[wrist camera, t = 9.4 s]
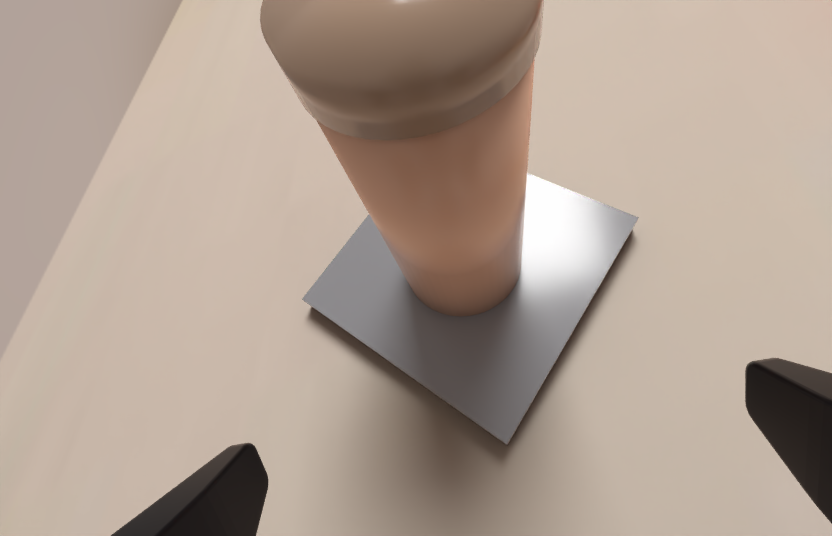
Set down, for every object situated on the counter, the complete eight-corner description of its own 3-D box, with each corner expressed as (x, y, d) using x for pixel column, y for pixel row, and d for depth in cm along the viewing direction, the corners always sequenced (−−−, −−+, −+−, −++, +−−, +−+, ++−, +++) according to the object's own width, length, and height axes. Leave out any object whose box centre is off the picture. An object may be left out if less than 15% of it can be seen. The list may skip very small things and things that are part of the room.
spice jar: (550, 268, 18) (618, -49, 7) (449, 343, 17) (343, 134, 6) (473, 190, 20) (430, -136, 9) (382, 254, 20) (221, -9, 9)
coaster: (632, 229, 19) (638, 217, 18) (507, 445, 16) (506, 444, 15) (434, 147, 23) (431, 134, 22) (311, 306, 20) (302, 299, 20)
